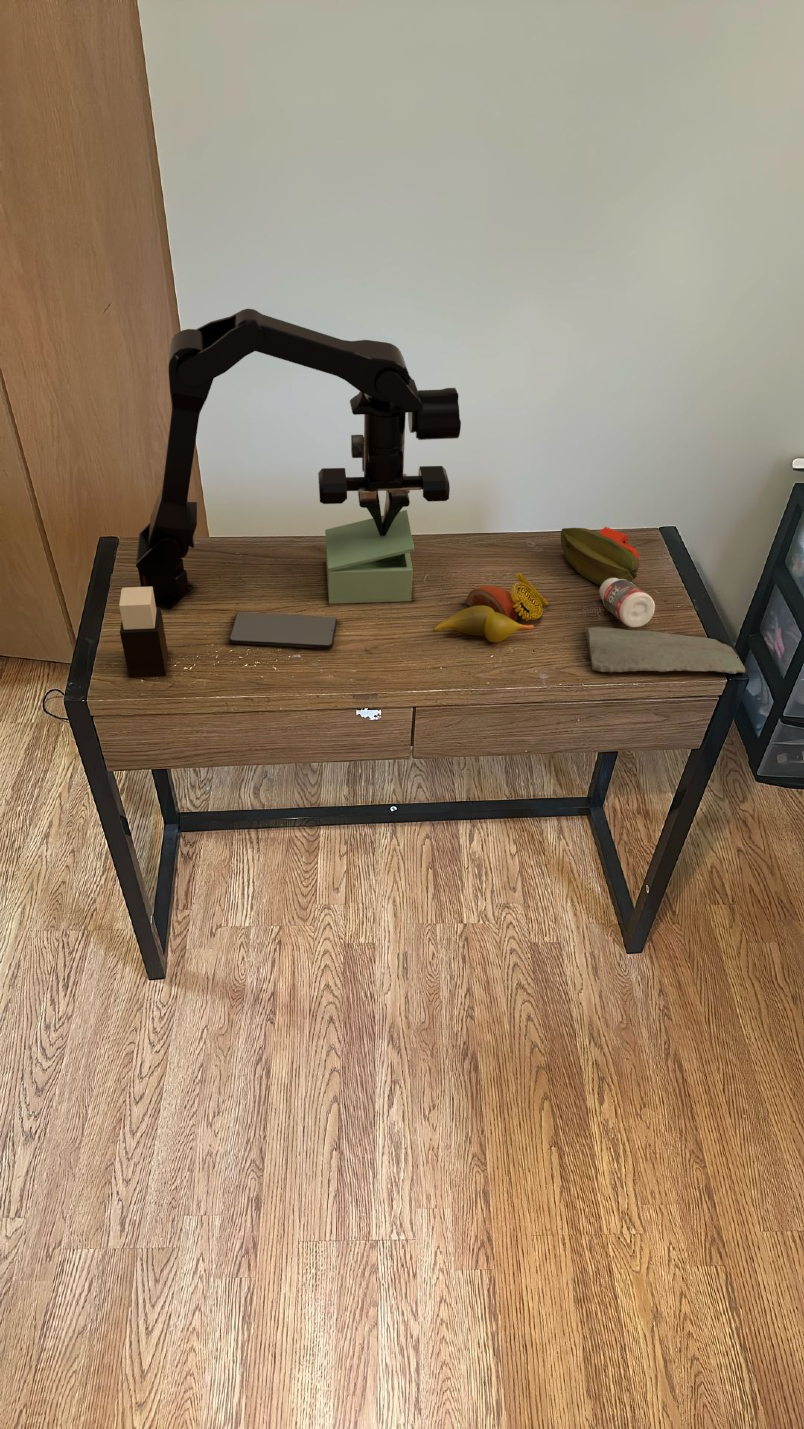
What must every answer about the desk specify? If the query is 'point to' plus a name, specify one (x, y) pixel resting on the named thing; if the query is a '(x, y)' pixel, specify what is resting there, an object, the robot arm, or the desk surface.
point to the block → (137, 608)
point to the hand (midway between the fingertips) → (382, 534)
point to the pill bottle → (627, 602)
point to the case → (372, 581)
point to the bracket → (618, 539)
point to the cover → (367, 542)
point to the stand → (145, 649)
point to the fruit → (597, 556)
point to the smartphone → (283, 630)
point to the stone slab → (657, 652)
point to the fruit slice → (493, 600)
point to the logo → (527, 599)
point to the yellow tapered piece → (482, 623)
